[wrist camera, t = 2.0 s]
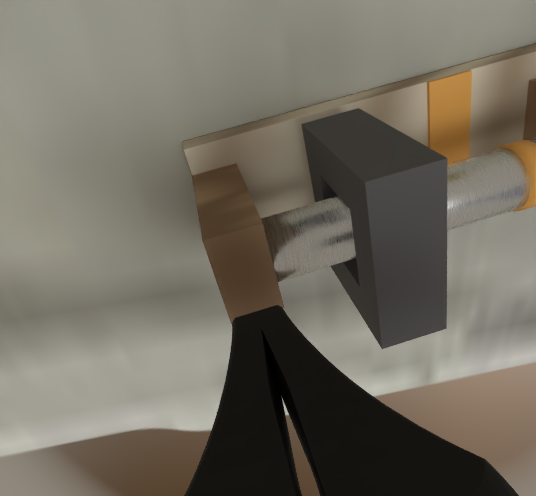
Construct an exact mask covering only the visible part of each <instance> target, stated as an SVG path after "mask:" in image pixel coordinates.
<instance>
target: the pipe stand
mask: <svg viewBox="0 0 536 496" xmlns="http://www.w3.org/2000/svg"><path fill="white" fill-rule="evenodd" d="M357 108H360V109H361V110H363V111H365V112H367V113H368V114H370V115H372V116H374V117H375V118H377V119H379V120H381V121H383V122H384V123H386V124H388V125H390V126H391V127H393V128H395V129H397V130H398V131H400V132H402V133H404V134H406V135H407V136H409V137H411V138H413V139H414V140H416V141H418V142H420V143H421V144H423V145H425V146H427V147H429V148H430V149H432V150H434V151H436V152H437V153H439V154H441V155H443V156H444V157H446V158H448V160H447V230H450V229H453V228H457V227H460V226H463V225H467V224H470V223H473V222H476V221H480V220H483V219H486V218H490V217H493V216H496V215H499V214H503V213H506V212H509V211H520V210H523V209H526V208H530V207H533V206H536V44H533V45H529V46H526V47H522V48H518V49H515V50H511V51H507V52H504V53H500V54H497V55H493V56H489V57H486V58H482V59H479V60H475V61H471V62H468V63H464V64H461V65H457V66H453V67H450V68H446V69H443V70H439V71H435V72H432V73H428V74H425V75H421V76H417V77H414V78H410V79H407V80H403V81H399V82H396V83H392V84H389V85H385V86H381V87H378V88H374V89H371V90H367V91H363V92H360V93H356V94H353V95H349V96H345V97H342V98H338V99H334V100H331V101H327V102H324V103H320V104H316V105H313V106H309V107H306V108H302V109H298V110H295V111H291V112H288V113H284V114H280V115H277V116H273V117H270V118H266V119H262V120H259V121H255V122H252V123H248V124H244V125H241V126H237V127H234V128H230V129H226V130H223V131H219V132H216V133H212V134H208V135H205V136H201V137H198V138H194V139H190V140H187V141H183V149H184V153H185V156H186V159H187V162H188V165H189V168H190V171H191V174H192V178H193V184H194V190H195V196H196V203H197V209H198V215H199V221H200V227H201V233H202V240H203V243H204V246H205V249H206V252H207V255H208V258H209V261H210V263H211V266H212V269H213V272H214V275H215V278H216V281H217V284H218V287H219V289H220V292H221V295H222V298H223V301H224V304H225V307H226V310H227V313H228V316H229V318H230V321H231V324H232V322H233V320H234V319H235V318H236V317H239V316H242V315H246V314H249V313H252V312H255V311H259V310H262V309H265V308H268V307H272V306H275V305H279V306H281V307H282V308H284V305H283V301H282V297H281V293H280V290H279V286H278V282H279V281H282V280H286V279H289V278H292V277H295V276H299V275H302V274H305V273H309V272H312V271H315V270H318V269H322V268H325V267H328V266H332V265H335V264H338V263H341V262H345V261H348V260H351V259H355V258H356V252H355V244H354V236H353V229H352V221H351V213H350V209H349V208H348V207H347V205H346V204H345V203H344V202H343V201H342V200H341V199H340V198H339V196H336V197H332V198H329V199H326V200H322V201H319V202H315V199H314V194H313V188H312V182H311V176H310V171H309V165H308V159H307V154H306V148H305V142H304V136H303V131H302V125H301V124H303V123H307V122H310V121H314V120H318V119H321V118H325V117H328V116H332V115H335V114H339V113H343V112H346V111H350V110H353V109H357Z"/></svg>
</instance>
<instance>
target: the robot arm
mask: <svg viewBox="0 0 536 496" xmlns="http://www.w3.org/2000/svg"><path fill="white" fill-rule="evenodd" d="M282 398H283V401H284V403H285V406H286V408H287V411H288V413H289V415H290V418H291V420H292V423H293V425H294V428H295V430H296V433H297V435H298V438H299V440H300V442H301V445H302V447H303V450H304V452H305V455H306V457H307V459H308V462H309V464H310V467H311V470H312V472H313V475H314V478H315V481H316V483H317V487H318V490H319V493H320V496H519V495H518V494H517V493H516V492H515V491H514V489H513V488H512V487H511V486H510V485H509V484H508V483H507V481H506V480H505V479H504V478H503V477H502V476H501V475H500V474H499V473H498V472H497V471H496V470H495V469H494V468H493V467H492V466H491V464H489V463H488V462H487V461H486V460H485V459H484V458H481V457H479V456H477V455H475V454H473V453H471V452H469V451H466V450H464V449H462V448H460V447H458V446H456V445H454V444H452V443H450V442H448V441H446V440H444V439H442V438H440V437H439V436H437V435H435V434H433V433H431V432H429V431H427V430H426V429H424V428H422V427H420V426H418V425H417V424H415V423H414V422H412V421H410V420H409V419H407V418H405V417H404V416H402V415H401V414H399V413H397V412H396V411H394V410H392V409H391V408H389V407H388V406H386V405H385V404H383V403H381V402H380V401H379V400H377V399H376V398H374V397H373V396H372V395H370V394H369V393H367V392H366V391H365V390H363V389H362V388H361V387H359V386H358V385H357V384H355V383H354V382H353V381H352V380H350V379H349V378H348V377H347V376H346V375H344V374H343V373H342V372H341V371H340V370H338V369H337V368H336V367H335V366H334V365H333V364H332V363H331V362H329V361H328V360H327V359H326V358H325V357H324V356H323V355H322V354H321V353H320V352H319V351H318V350H317V349H316V348H315V347H314V346H313V345H312V344H311V343H310V342H309V341H308V340H307V339H306V338H305V337H304V335H303V334H302V333H301V332H300V331H299V330H298V329H297V327H296V326H295V325H294V324H293V322H292V321H291V320H290V319H289V317H288V316H287V314H286V313H285V311H284V310H283V308H282V307H281V306H279V305H275V306H272V307H268V308H265V309H262V310H259V311H255V312H252V313H249V314H246V315H242V316H239V317H236V318H235V319H234V320H233V322H232V345H231V352H230V359H229V365H228V370H227V376H226V381H225V385H224V389H223V393H222V397H221V401H220V405H219V408H218V412H217V415H216V418H215V422H214V425H213V428H212V431H211V434H210V436H209V439H208V442H207V445H206V447H205V450H204V452H203V455H202V457H201V460H200V462H199V465H198V468H197V470H196V472H195V474H194V477H193V479H192V481H191V483H190V485H189V488H188V490H187V492H186V494H185V496H302V494H301V490H300V487H299V482H298V478H297V473H296V468H295V463H294V458H293V453H292V448H291V443H290V438H289V432H288V427H287V422H286V417H285V412H284V407H283V401H282Z"/></svg>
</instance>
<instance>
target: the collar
mask: <svg viewBox="0 0 536 496" xmlns="http://www.w3.org/2000/svg"><path fill="white" fill-rule="evenodd" d="M301 125H302V131H303V136H304V142H305V148H306V154H307V159H308V165H309V171H310V176H311V182H312V188H313V194H314V199H315V202H319V201H322V200H326V199H329V198H332V197H336V196H339V198H340V199H341V200H342V201H343V202H344V203H345V204H346V205H347V207H348V208H349V209H350V213H351V221H352V229H353V236H354V244H355V252H356V258H355V259H351V260H348V261H345V262H341V263H338V264H335V265H332V266H331V268H332V269H333V271H334V272H335V274H336V276H337V277H338V279H339V280H340V282H341V284H342V285H343V287H344V288H345V290H346V292H347V293H348V295H349V297H350V298H351V300H352V301H353V303H354V305H355V306H356V308H357V309H358V311H359V313H360V314H361V316H362V317H363V319H364V321H365V322H366V324H367V325H368V327H369V329H370V330H371V332H372V333H373V335H374V337H375V338H376V340H377V341H378V343H379V345H380V346H381V348H382V349H384V348H387V347H390V346H393V345H396V344H399V343H402V342H406V341H409V340H412V339H415V338H418V337H421V336H424V335H427V334H431V333H434V332H437V331H440V330H443V329H446V316H447V160H448V158H446V157H444V156H443V155H441V154H439V153H437V152H436V151H434V150H432V149H430V148H429V147H427V146H425V145H423V144H421V143H420V142H418V141H416V140H414V139H413V138H411V137H409V136H407V135H406V134H404V133H402V132H400V131H398V130H397V129H395V128H393V127H391V126H390V125H388V124H386V123H384V122H383V121H381V120H379V119H377V118H375V117H374V116H372V115H370V114H368V113H367V112H365V111H363V110H361V109H360V108H357V109H353V110H350V111H346V112H343V113H339V114H335V115H332V116H328V117H325V118H321V119H318V120H314V121H310V122H307V123H303V124H301Z"/></svg>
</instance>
